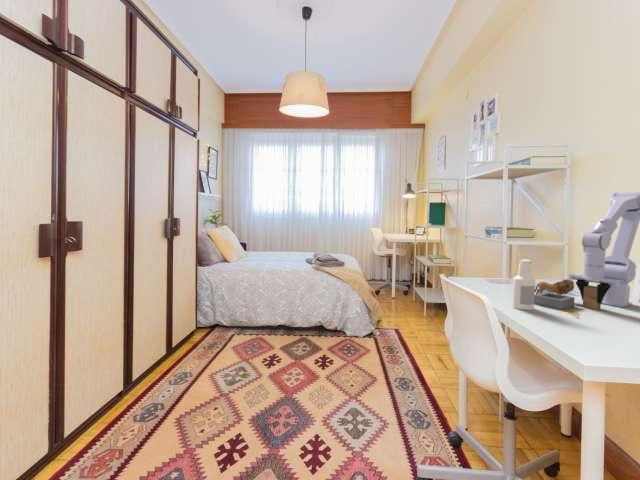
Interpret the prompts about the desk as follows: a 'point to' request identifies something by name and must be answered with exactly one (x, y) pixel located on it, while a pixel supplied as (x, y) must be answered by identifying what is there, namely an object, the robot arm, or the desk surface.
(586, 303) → the walnut block
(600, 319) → the desk surface
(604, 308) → the desk surface
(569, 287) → the lion figurine
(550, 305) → the square well
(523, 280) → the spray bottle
